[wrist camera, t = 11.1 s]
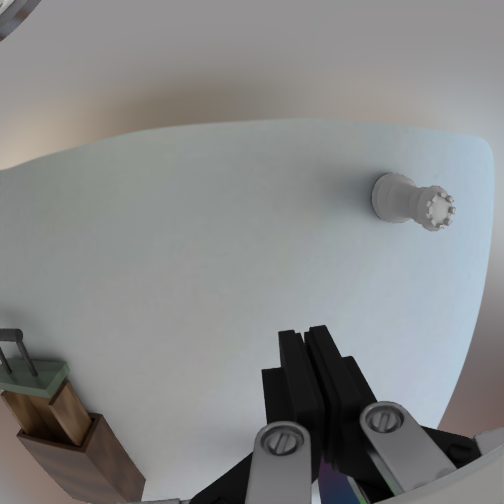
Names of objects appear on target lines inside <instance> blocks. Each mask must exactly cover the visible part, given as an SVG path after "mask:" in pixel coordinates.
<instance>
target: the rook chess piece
mask: <svg viewBox="0 0 504 504" xmlns="http://www.w3.org/2000/svg"><path fill="white" fill-rule="evenodd" d="M453 202H454V200H453V199H452V197H451V196H449V195H448V194H447V192H446V191H445V190H444V189H443V188H441V187H440V186H431V187H429V188H428V187H421V188H417V187H416V186H415V184H414V183H413V182H412V180H411V179H409V178H407V177H406V176H404V175H400V174H397V173H389V174H386V175H384V176H382V177H381V178H380V179H379V180H378V181H377V182H376V184H375V186H374V189H373V192H372V204H373V207H374V210H375V212H376V213H377V214H378V216H379V217H380V218H381V219H383V220H385V221H387V222H392V223H403V222H405V221H407V220H409V219H414V221H415V222H417V223H419V224H422V226H423V227H424V228H425V229H427V230H429V231H438V230H440V229H444V226H445V225H447V226H449V225H450V224H451V223H452V222H453V221H452V220H451V219H450V216H451V214H455V209H456V208H455V207H452V205H451V203H453Z"/></svg>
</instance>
